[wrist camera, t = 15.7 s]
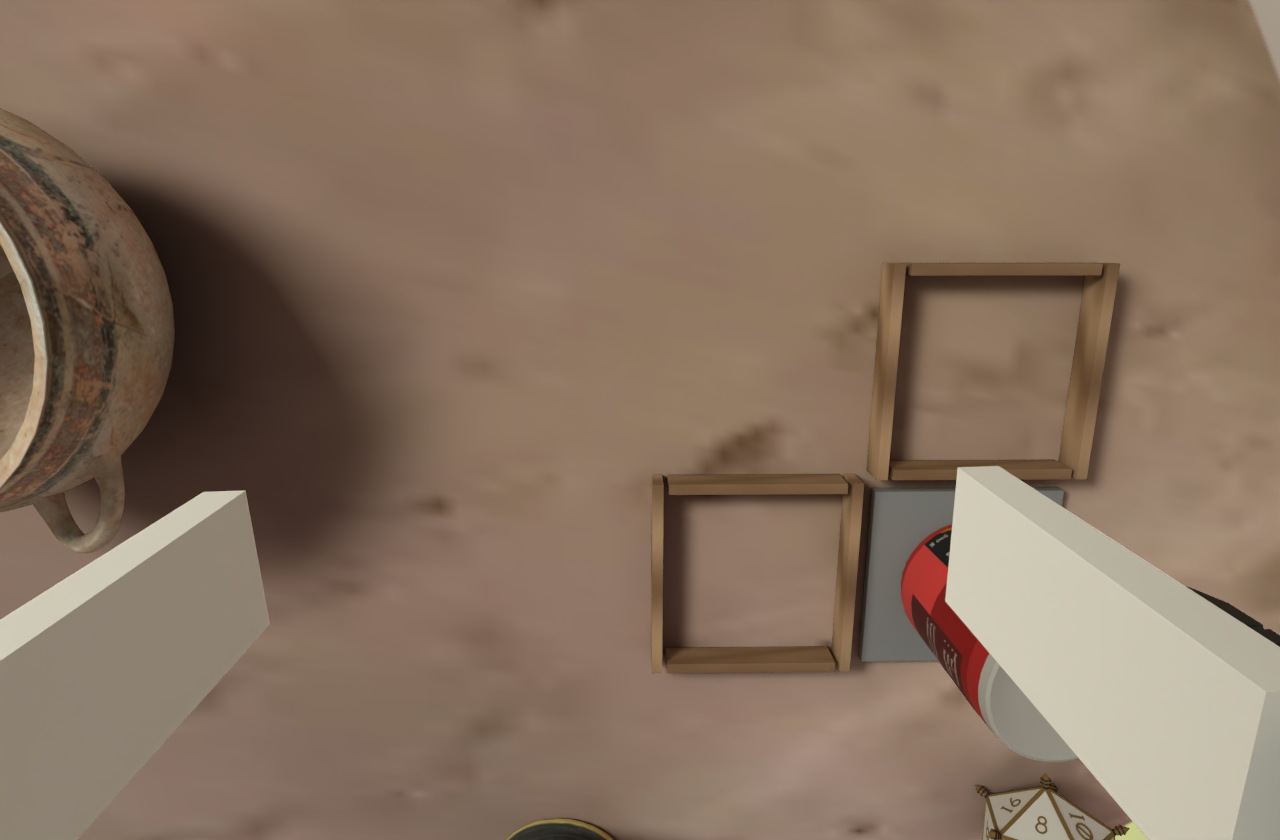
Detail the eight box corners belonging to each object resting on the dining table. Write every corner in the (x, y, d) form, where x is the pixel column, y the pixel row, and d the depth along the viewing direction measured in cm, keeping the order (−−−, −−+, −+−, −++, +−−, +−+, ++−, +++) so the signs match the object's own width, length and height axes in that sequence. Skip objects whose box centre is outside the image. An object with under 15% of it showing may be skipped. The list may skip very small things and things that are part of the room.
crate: (651, 474, 42) (652, 484, 40) (854, 473, 42) (864, 483, 40) (651, 656, 44) (652, 673, 43) (840, 654, 45) (849, 671, 43)
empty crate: (882, 263, 39) (894, 263, 37) (1098, 262, 39) (1120, 263, 37) (866, 470, 42) (876, 480, 40) (1067, 469, 42) (1086, 479, 40)
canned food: (1045, 532, 42) (1187, 630, 31) (995, 650, 44) (1113, 780, 33) (923, 501, 42) (1025, 590, 31) (877, 622, 43) (959, 745, 33)
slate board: (872, 488, 42) (875, 491, 41) (1058, 487, 42) (1064, 490, 42) (858, 656, 45) (861, 661, 44) (1033, 654, 45) (1039, 660, 44)
